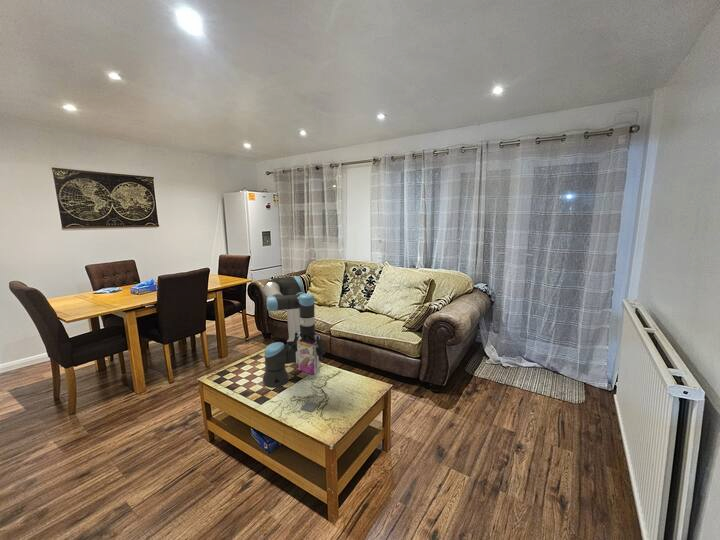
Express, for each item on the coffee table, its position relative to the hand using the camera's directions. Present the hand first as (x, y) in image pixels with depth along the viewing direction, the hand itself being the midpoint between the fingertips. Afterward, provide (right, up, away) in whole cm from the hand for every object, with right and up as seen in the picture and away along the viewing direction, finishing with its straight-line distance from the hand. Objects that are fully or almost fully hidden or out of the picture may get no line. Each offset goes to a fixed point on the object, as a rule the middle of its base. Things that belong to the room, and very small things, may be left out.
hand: (308, 364), depth 158 cm
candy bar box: (0, -4, +1) cm, 4 cm away
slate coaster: (0, -24, +4) cm, 24 cm away
